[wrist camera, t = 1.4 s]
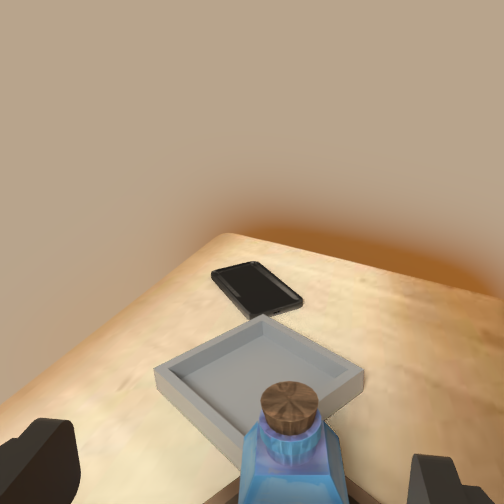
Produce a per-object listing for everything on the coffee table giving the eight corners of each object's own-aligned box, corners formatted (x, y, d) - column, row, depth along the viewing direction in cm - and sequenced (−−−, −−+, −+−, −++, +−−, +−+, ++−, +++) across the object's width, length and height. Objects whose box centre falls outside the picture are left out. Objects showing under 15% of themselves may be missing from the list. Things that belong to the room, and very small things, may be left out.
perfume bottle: (243, 597, 27) (227, 445, 22) (249, 502, 32) (237, 365, 28) (350, 599, 26) (356, 444, 21) (337, 503, 32) (339, 363, 27)
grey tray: (264, 332, 52) (262, 313, 51) (362, 391, 42) (363, 369, 41) (157, 389, 44) (153, 368, 43) (247, 478, 34) (245, 453, 33)
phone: (256, 260, 70) (306, 300, 57) (256, 266, 70) (306, 308, 57) (208, 271, 67) (249, 317, 54) (208, 278, 67) (249, 325, 54)
